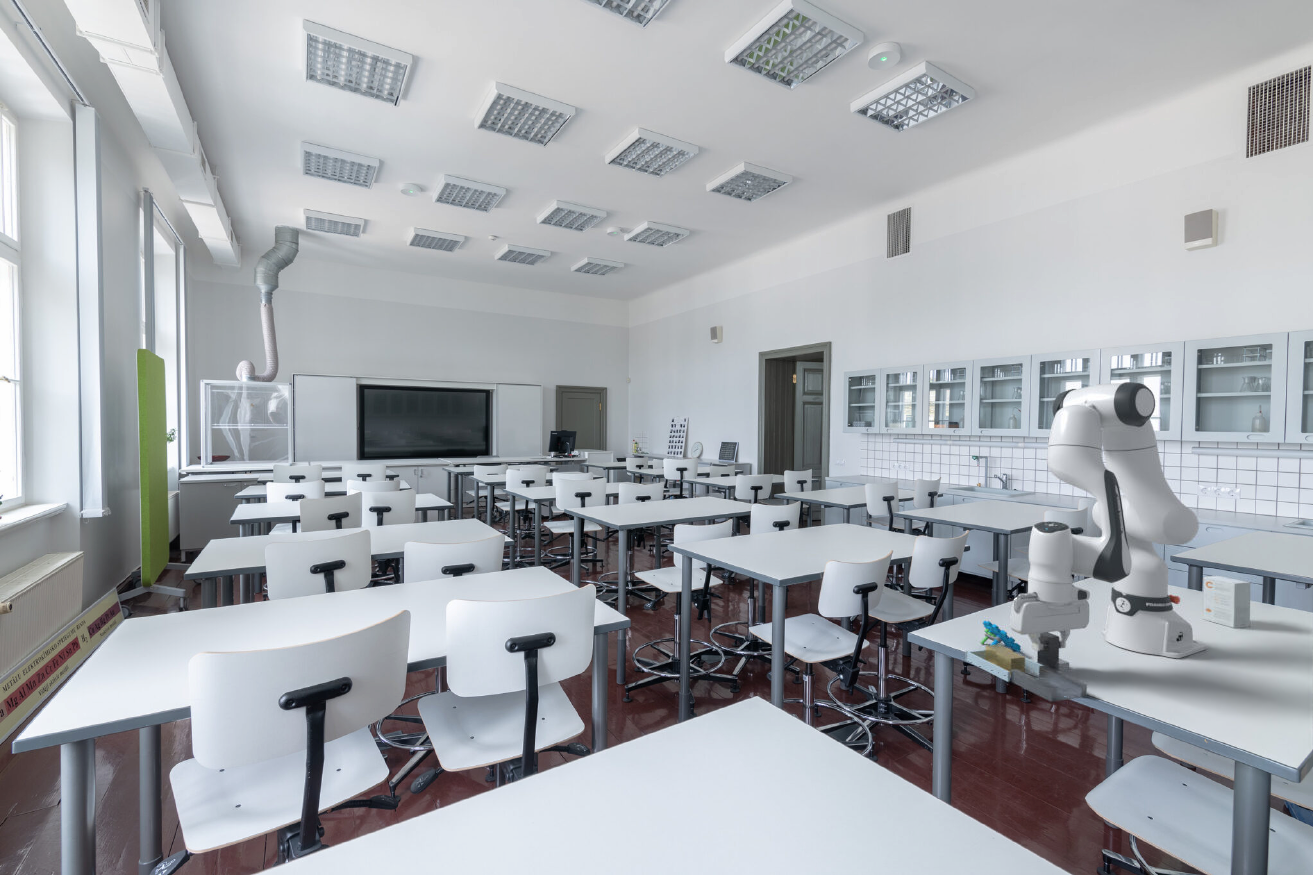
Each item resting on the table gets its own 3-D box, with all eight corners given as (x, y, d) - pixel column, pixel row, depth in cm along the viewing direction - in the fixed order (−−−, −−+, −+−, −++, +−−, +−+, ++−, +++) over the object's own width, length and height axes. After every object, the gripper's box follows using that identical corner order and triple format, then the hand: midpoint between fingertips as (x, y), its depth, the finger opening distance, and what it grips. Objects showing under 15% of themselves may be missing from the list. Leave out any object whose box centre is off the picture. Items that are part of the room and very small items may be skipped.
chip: (1010, 667, 139) (1010, 650, 139) (1024, 674, 135) (1025, 657, 135) (996, 668, 138) (996, 652, 138) (1010, 675, 134) (1011, 658, 134)
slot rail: (1044, 677, 134) (1044, 665, 133) (1086, 697, 124) (1086, 684, 124) (1010, 682, 131) (1010, 669, 131) (1051, 702, 121) (1051, 689, 121)
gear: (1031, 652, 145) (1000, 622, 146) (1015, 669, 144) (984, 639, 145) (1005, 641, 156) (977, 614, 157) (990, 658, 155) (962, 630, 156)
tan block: (998, 660, 143) (999, 644, 143) (1012, 666, 139) (1012, 650, 139) (985, 661, 142) (985, 645, 142) (998, 668, 138) (999, 651, 138)
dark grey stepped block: (1069, 670, 138) (1069, 637, 137) (1052, 673, 136) (1053, 639, 136) (1049, 662, 142) (1050, 630, 142) (1033, 664, 141) (1034, 631, 141)
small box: (1250, 627, 169) (1251, 582, 169) (1233, 628, 168) (1235, 583, 167) (1218, 618, 177) (1219, 575, 177) (1201, 619, 175) (1203, 576, 175)
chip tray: (1002, 656, 146) (1002, 647, 146) (1047, 677, 134) (1047, 667, 134) (965, 661, 143) (965, 651, 143) (1007, 682, 131) (1007, 672, 131)
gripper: (1026, 598, 133) (1025, 658, 133) (1095, 591, 138) (1094, 649, 138) (1003, 590, 139) (1002, 647, 139) (1070, 584, 144) (1069, 640, 144)
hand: (1048, 648), depth 139 cm, fingers open, 5 cm apart
